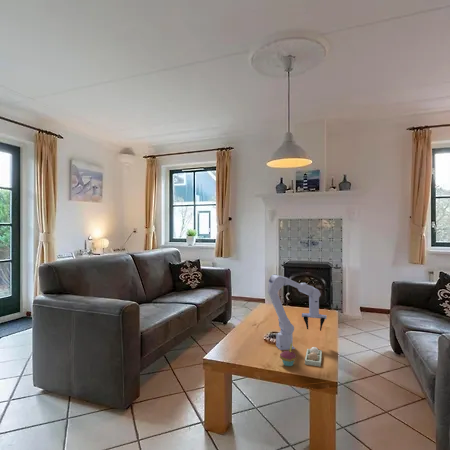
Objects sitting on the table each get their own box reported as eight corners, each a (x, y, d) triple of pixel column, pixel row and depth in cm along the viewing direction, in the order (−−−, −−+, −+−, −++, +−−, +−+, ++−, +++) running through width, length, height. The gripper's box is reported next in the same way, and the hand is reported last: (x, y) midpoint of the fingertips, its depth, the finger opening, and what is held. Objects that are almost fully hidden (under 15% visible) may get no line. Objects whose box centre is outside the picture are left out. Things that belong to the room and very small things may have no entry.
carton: (320, 367, 160) (320, 362, 160) (304, 365, 163) (304, 360, 163) (321, 354, 175) (321, 350, 175) (307, 352, 178) (307, 348, 178)
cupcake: (294, 361, 167) (294, 339, 167) (298, 368, 159) (298, 345, 159) (278, 361, 167) (278, 339, 167) (281, 368, 159) (281, 345, 159)
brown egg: (311, 364, 162) (311, 354, 162) (306, 360, 167) (306, 351, 167) (319, 363, 163) (319, 354, 163) (315, 359, 168) (315, 350, 168)
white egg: (311, 358, 170) (312, 349, 169) (307, 353, 175) (308, 345, 174) (320, 358, 171) (321, 349, 170) (315, 354, 175) (317, 345, 175)
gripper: (326, 306, 191) (326, 328, 191) (302, 304, 196) (302, 326, 196) (326, 309, 184) (326, 332, 184) (301, 307, 189) (301, 329, 189)
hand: (314, 329), depth 189 cm, fingers open, 7 cm apart
